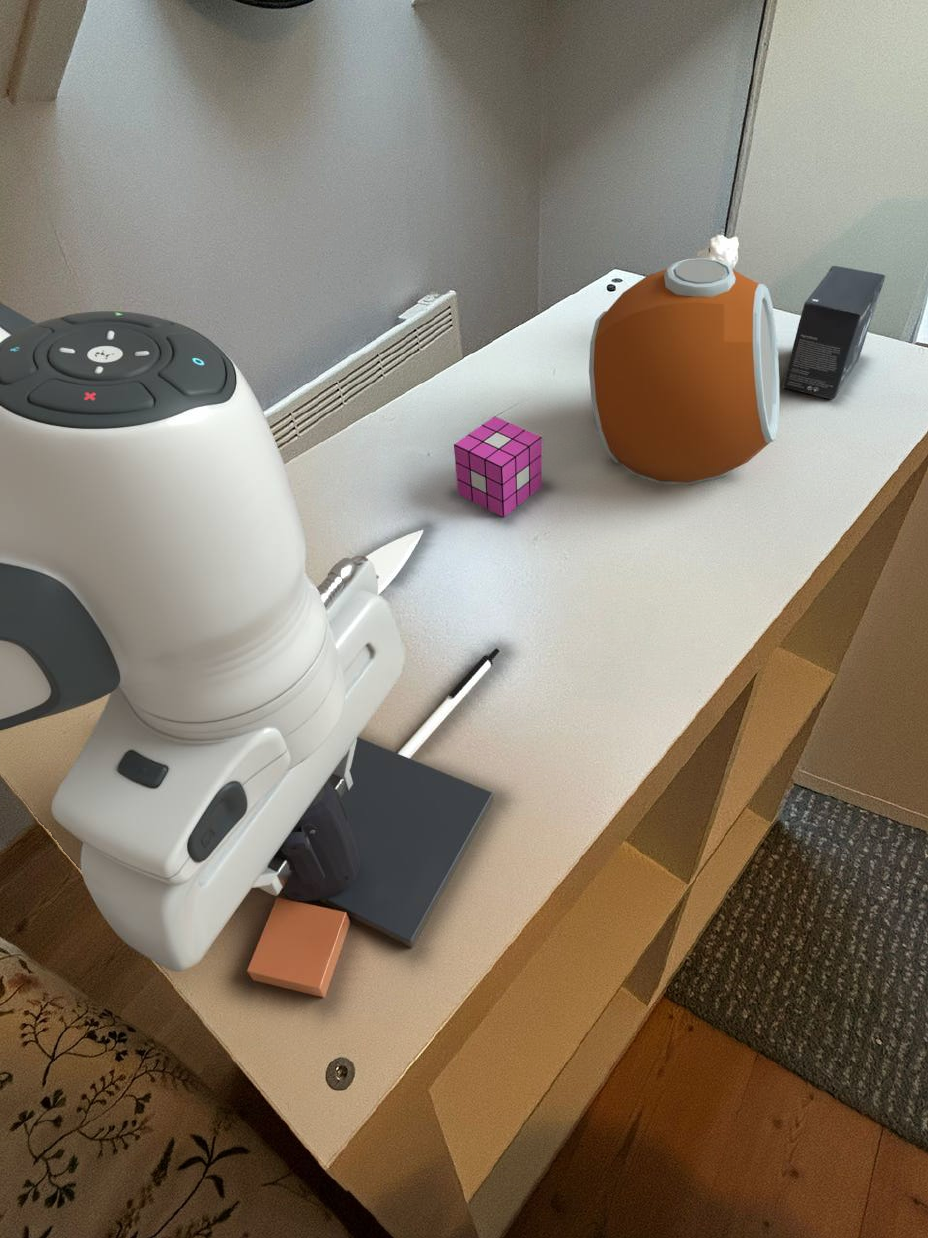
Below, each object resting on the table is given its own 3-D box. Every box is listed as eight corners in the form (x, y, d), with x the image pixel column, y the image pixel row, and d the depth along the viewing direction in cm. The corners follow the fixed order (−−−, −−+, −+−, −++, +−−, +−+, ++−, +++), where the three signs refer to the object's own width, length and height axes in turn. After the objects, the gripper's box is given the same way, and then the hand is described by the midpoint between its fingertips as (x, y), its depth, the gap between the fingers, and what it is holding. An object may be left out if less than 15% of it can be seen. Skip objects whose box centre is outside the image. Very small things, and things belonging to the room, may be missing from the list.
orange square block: (253, 980, 48) (246, 971, 47) (282, 907, 51) (276, 896, 50) (324, 998, 47) (319, 989, 46) (350, 922, 50) (346, 912, 49)
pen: (502, 656, 64) (501, 646, 63) (338, 843, 54) (335, 834, 53) (492, 651, 64) (492, 642, 63) (328, 836, 54) (324, 827, 53)
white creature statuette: (668, 317, 98) (680, 212, 89) (742, 326, 95) (763, 219, 87) (649, 357, 92) (661, 249, 83) (728, 368, 89) (748, 258, 81)
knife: (421, 520, 74) (469, 566, 69) (423, 535, 75) (470, 581, 70) (89, 668, 63) (119, 734, 58) (97, 682, 64) (127, 748, 60)
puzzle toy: (542, 487, 78) (542, 436, 73) (503, 518, 75) (501, 467, 71) (496, 465, 80) (494, 415, 76) (457, 494, 78) (452, 444, 74)
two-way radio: (360, 839, 53) (311, 703, 41) (373, 905, 50) (324, 777, 38) (274, 863, 52) (200, 731, 41) (283, 931, 49) (205, 809, 38)
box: (835, 402, 84) (861, 313, 77) (780, 389, 86) (801, 301, 79) (860, 359, 89) (887, 272, 82) (808, 348, 91) (830, 262, 84)
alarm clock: (761, 521, 72) (809, 338, 60) (566, 492, 77) (572, 316, 64) (777, 403, 84) (820, 230, 72) (608, 384, 89) (620, 218, 76)
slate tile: (239, 860, 53) (235, 853, 53) (333, 733, 60) (330, 725, 59) (412, 949, 49) (410, 942, 48) (494, 800, 55) (493, 792, 54)
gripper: (314, 521, 44) (355, 684, 54) (15, 841, 32) (141, 973, 42) (417, 553, 41) (440, 717, 51) (138, 910, 29) (239, 1032, 39)
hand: (305, 834), depth 47 cm, fingers closed on two-way radio, 5 cm apart
